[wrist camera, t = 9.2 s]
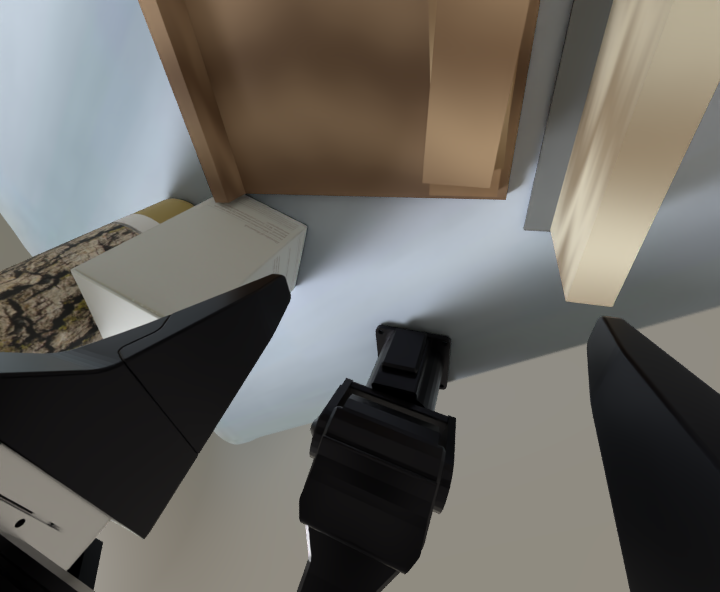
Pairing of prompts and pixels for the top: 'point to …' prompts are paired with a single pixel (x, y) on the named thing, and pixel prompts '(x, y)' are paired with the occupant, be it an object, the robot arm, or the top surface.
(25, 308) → the log
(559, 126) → the mat
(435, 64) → the offcut stack
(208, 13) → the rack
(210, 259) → the supplement box
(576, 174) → the birch panel
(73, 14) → the top surface
